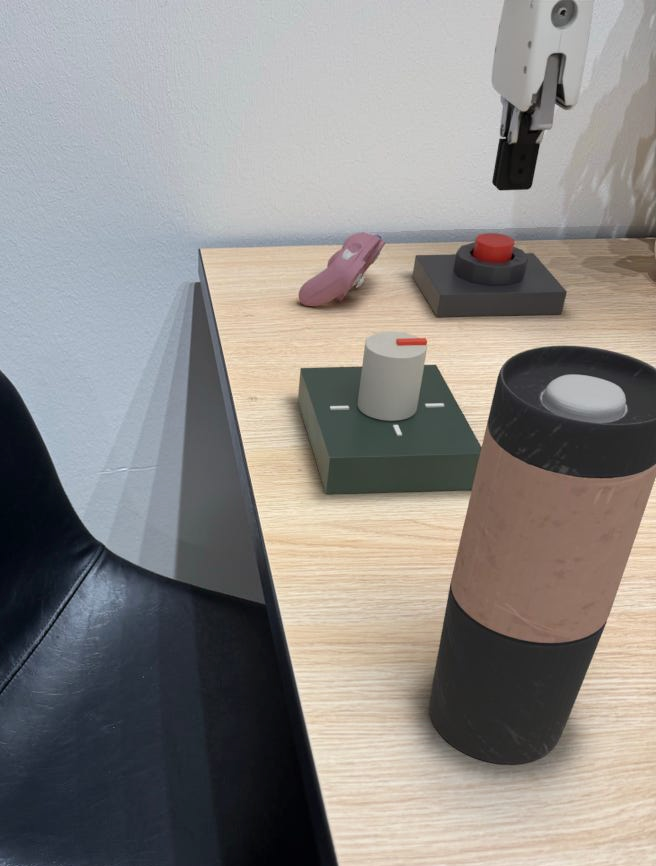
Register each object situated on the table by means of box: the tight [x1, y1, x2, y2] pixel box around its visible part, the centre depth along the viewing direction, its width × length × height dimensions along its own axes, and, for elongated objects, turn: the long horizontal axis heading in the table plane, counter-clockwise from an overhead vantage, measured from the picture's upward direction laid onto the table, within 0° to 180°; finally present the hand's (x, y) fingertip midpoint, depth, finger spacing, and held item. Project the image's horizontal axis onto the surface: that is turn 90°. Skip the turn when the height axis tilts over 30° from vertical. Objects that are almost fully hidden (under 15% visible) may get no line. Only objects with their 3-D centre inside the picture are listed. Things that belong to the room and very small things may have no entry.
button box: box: [412, 241, 568, 318], centre depth 100 cm, size 12×10×4 cm
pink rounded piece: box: [298, 228, 386, 307], centre depth 100 cm, size 10×5×7 cm, turn 154°
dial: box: [358, 331, 428, 421], centre depth 76 cm, size 4×4×5 cm
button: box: [473, 232, 515, 262], centre depth 99 cm, size 4×4×2 cm
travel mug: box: [429, 345, 656, 765], centre depth 51 cm, size 8×8×20 cm
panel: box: [297, 364, 482, 495], centre depth 79 cm, size 14×11×3 cm
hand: (511, 186), depth 95 cm, fingers closed
